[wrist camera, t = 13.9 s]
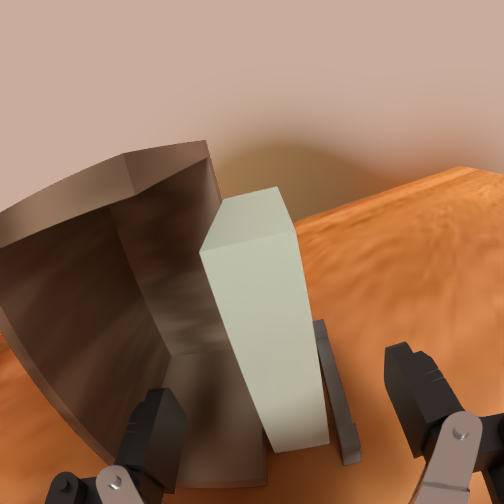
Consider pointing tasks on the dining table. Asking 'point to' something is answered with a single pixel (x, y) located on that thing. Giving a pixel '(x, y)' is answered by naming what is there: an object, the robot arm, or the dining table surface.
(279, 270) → the door
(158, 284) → the cabinet
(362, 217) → the dining table surface
